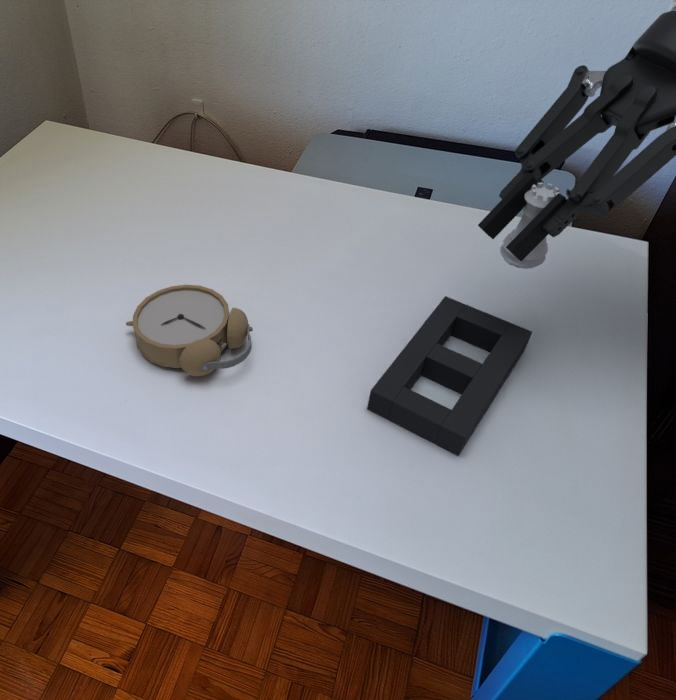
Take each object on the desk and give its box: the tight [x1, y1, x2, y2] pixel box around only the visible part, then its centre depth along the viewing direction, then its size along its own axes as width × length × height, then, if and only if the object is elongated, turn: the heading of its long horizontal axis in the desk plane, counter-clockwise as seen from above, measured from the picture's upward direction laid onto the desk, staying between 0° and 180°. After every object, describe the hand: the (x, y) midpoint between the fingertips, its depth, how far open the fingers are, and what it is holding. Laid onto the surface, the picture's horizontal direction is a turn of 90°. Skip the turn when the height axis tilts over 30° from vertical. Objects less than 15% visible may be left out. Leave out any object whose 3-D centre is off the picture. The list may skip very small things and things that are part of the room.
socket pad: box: [366, 295, 533, 456], centre depth 74 cm, size 10×18×3 cm, turn 142°
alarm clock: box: [125, 284, 254, 377], centre depth 79 cm, size 11×5×15 cm
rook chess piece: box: [499, 181, 560, 270], centre depth 67 cm, size 4×4×8 cm
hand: (499, 242), depth 67 cm, fingers closed on rook chess piece, 3 cm apart
